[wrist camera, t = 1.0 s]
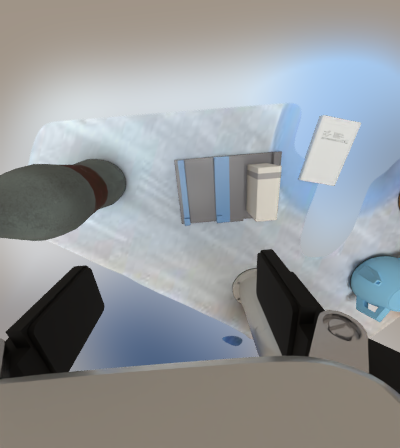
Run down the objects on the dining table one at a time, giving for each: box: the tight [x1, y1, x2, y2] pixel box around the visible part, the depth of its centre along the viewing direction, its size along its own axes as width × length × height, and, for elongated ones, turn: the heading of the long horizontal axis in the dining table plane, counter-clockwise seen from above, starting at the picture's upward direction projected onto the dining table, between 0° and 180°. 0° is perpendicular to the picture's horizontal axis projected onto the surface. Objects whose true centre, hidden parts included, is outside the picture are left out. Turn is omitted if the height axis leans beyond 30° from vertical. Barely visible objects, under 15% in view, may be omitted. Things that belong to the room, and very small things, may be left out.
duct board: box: [174, 152, 282, 226], centre depth 40 cm, size 14×22×3 cm, turn 94°
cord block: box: [246, 163, 281, 222], centre depth 37 cm, size 10×4×7 cm, turn 4°
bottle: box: [0, 159, 126, 241], centre depth 25 cm, size 9×9×30 cm
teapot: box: [351, 256, 400, 322], centre depth 46 cm, size 15×15×11 cm
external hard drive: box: [298, 115, 361, 186], centre depth 38 cm, size 2×8×12 cm
